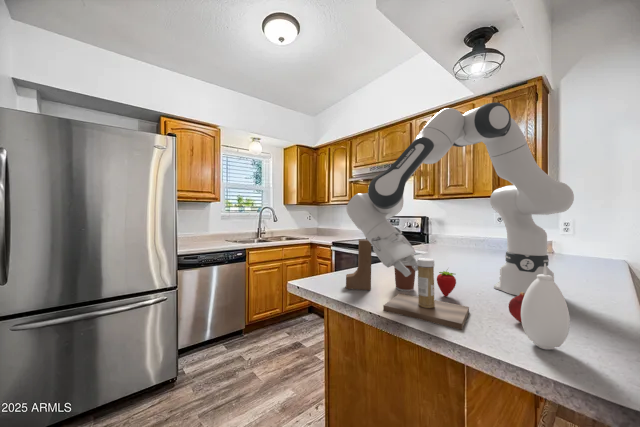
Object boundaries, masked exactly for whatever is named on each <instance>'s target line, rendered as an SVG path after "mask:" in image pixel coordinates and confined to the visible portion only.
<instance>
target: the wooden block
mask: <svg viewBox="0 0 640 427" xmlns="http://www.w3.org/2000/svg"><path fill="white" fill-rule="evenodd" d="M372 248H373V246H372V244H371V243H370V242H369V241H368V240H367V238H365V239H364V238H363V239H362V238H359V239H358V254H357V255H358V256H357V258H358V259H357V260H358V261H357V268H356V270H355V271H354V272H353V273H347V274H346V275H345V289H347V290H356V289H358V290H360V291H361V290H362V291H371V290H372ZM358 290H357V291H358Z"/></svg>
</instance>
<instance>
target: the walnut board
mask: <svg viewBox="0 0 640 427" xmlns="http://www.w3.org/2000/svg"><path fill="white" fill-rule="evenodd" d="M418 297H419V296H415V295H412V294H406V293H400V292H399V293H398V294H397V295H395V296H394V297H392V298H391V299H390V300H389V301H387V302H385V303H384V304H383V309H382V311H384V312H388V313H392V314H396V315H400V316H404V317H409V318H413V319H417V320H421V321H424V322H428V323H429V322H430V323H433V324H437V325H440V326H444V327H449V328H453V329H456V330H461V331H462V330H463V328H464V325H465V322H466V321H467V317H468V316H469V313H470V306H466V305H461V304H456V303H452V302H447V301H441V300H435V299H434V304H435V307H433V308H424V307H421V306H419V305H418V302H419V299H418Z"/></svg>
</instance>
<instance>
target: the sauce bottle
mask: <svg viewBox="0 0 640 427" xmlns="http://www.w3.org/2000/svg"><path fill="white" fill-rule="evenodd" d="M566 301H567V300H566V299H565V296H564V294H563V292H562V291H561V289H560V288H559V286H558V284H556V282H555V280H554V281H553V277H552V276H550V275H547V274H546V263H545V264H544V273H543V274H538V275H537V279H536V280H534V281H533V282H532V284H531V285H530V286H529V288H528V289H527V291H526V293H525V295H524V298H523V301H522V306H521V321H522V323H521V326H522V327H523V328H522V329H523V331H524V333H525V335H526V337H527V338H528V339H529V340H530V341H531V342H532V343H533V345H535V346H537V347H538V348H540V349H542V350H547V351H548V350H554V349H555V348H559V347H561V346H562V345H563V344H564V342H566V339H567V338H568V336H569V333H570V332H569V331H570V328H571V326H570V325H571V324H570V322H571V320H570V312H569V308H568V304H567V302H566Z"/></svg>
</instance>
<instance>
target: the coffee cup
mask: <svg viewBox="0 0 640 427" xmlns="http://www.w3.org/2000/svg"><path fill="white" fill-rule="evenodd" d="M402 264H403V265H404V266H405V267H406V268H408V269H409V270H410V271H411V274H410V275H409V276H408V277H405V276H404V275H403V273H402V272H400V271H399V270H397V269H396V268H395V267H394V266H393V267H394V269H393V270H394V282H395V283H394V284H395V289H396V290H398V291H399V292H413V291H414V289H415V280H416V271H415V270H414V269H413V268H412V265H411V264H410V262H408V261H407V260H404V261H402Z"/></svg>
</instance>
